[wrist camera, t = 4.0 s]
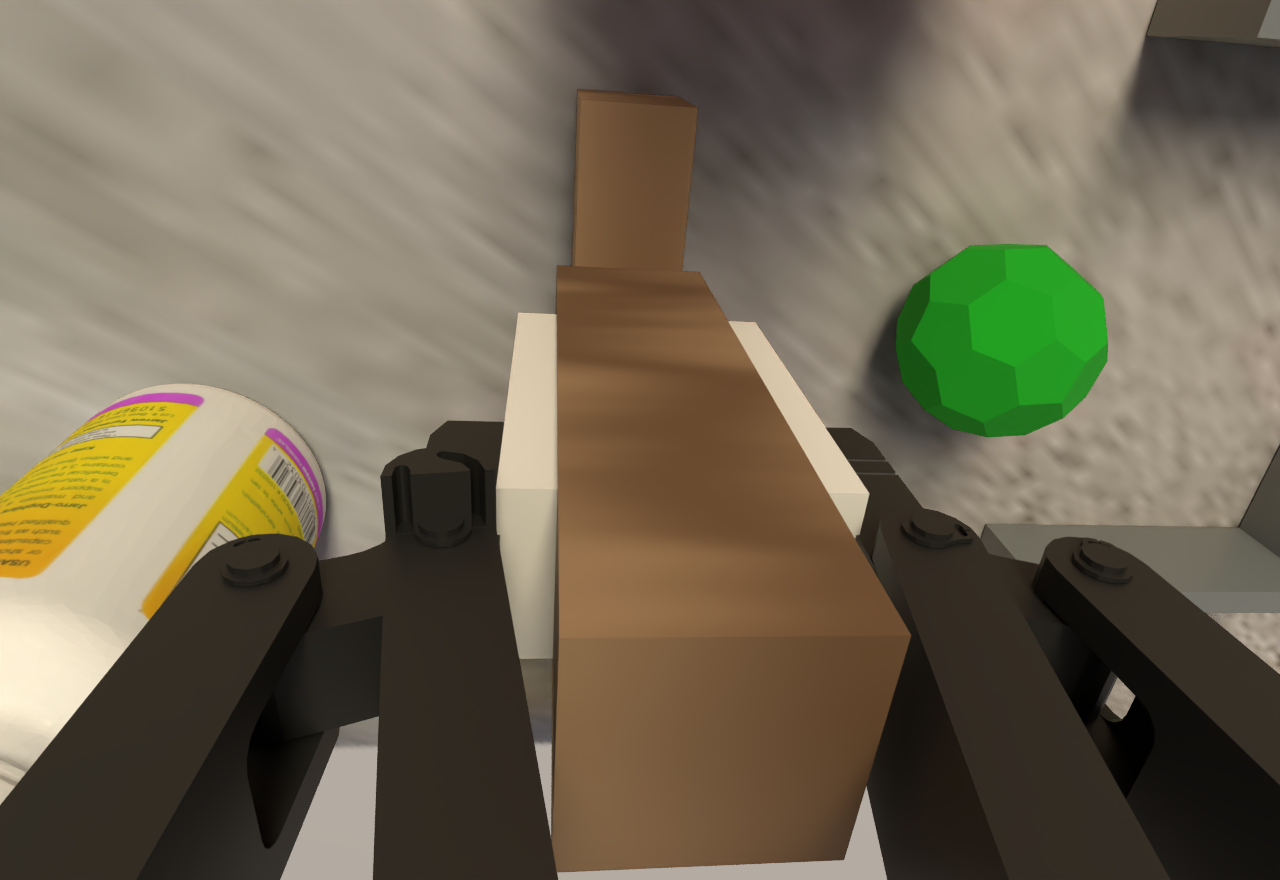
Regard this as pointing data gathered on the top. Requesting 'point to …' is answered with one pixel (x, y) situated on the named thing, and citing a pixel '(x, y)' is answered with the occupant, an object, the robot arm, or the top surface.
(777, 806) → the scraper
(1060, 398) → the polyhedron
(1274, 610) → the tray
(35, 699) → the supplement bottle
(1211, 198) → the top surface
